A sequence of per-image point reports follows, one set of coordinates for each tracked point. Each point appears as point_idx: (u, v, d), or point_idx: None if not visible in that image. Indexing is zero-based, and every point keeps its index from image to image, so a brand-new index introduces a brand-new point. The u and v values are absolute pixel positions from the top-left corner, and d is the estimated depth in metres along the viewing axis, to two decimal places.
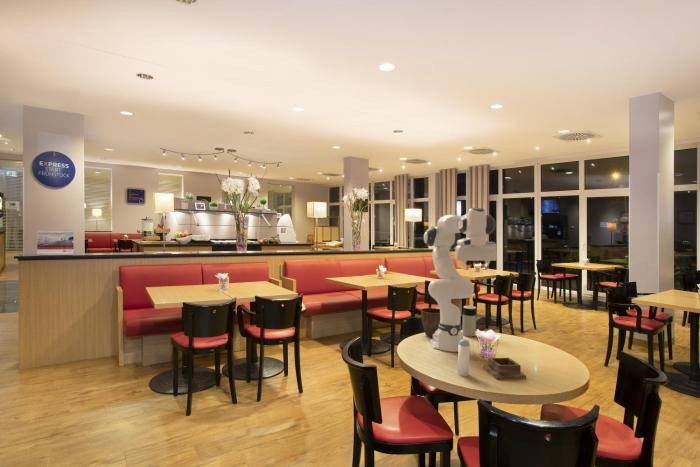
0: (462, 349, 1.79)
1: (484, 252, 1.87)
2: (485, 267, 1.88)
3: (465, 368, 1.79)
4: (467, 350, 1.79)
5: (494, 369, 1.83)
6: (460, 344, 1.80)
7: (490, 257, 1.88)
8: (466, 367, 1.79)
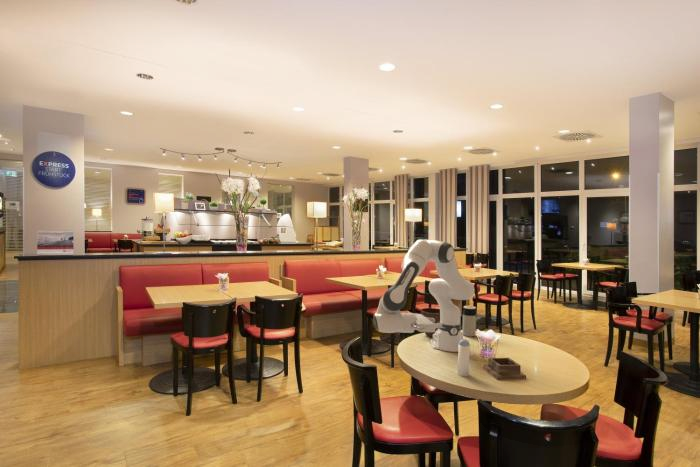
0: (462, 349, 1.79)
1: None
2: None
3: (465, 368, 1.79)
4: (467, 350, 1.79)
5: (494, 369, 1.83)
6: (460, 344, 1.80)
7: None
8: (466, 367, 1.79)
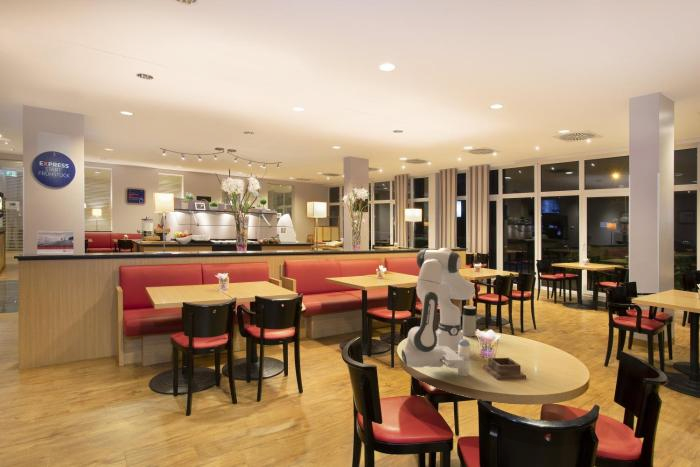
0: (462, 349, 1.79)
1: None
2: None
3: (465, 368, 1.79)
4: (467, 350, 1.79)
5: (494, 369, 1.83)
6: (460, 344, 1.80)
7: None
8: (466, 367, 1.79)
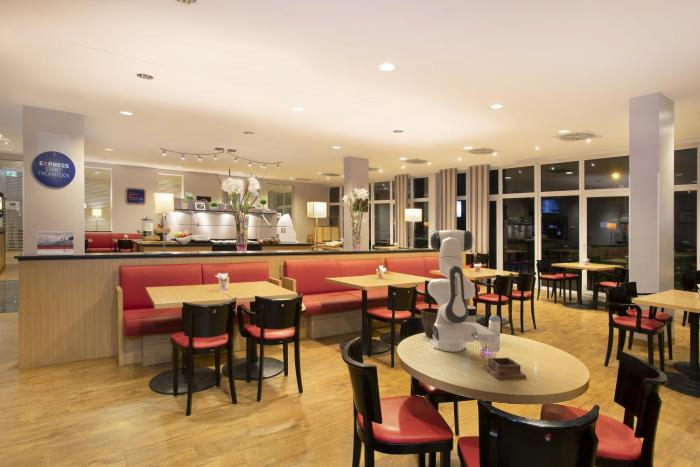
0: (493, 324, 1.81)
1: None
2: None
3: (496, 343, 1.81)
4: (498, 325, 1.81)
5: (494, 369, 1.83)
6: (491, 319, 1.82)
7: None
8: (497, 342, 1.81)
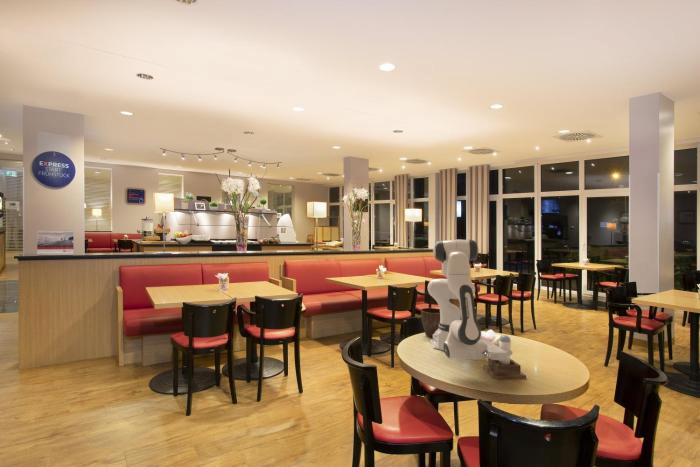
0: (503, 345, 1.82)
1: None
2: None
3: (506, 364, 1.82)
4: (508, 346, 1.81)
5: (494, 369, 1.83)
6: (501, 340, 1.82)
7: None
8: (507, 363, 1.82)
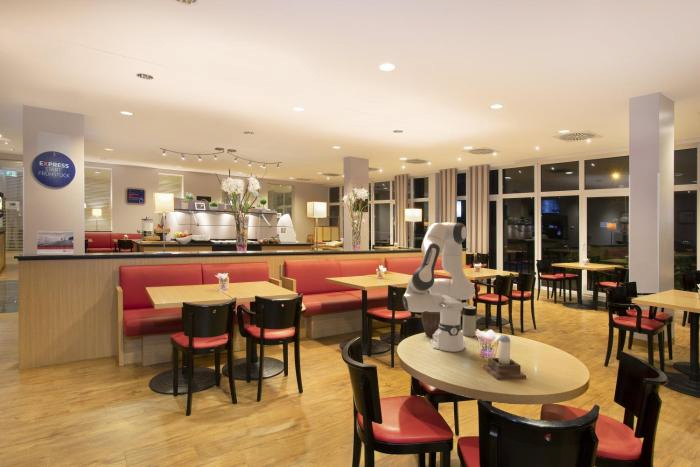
0: (503, 345, 1.82)
1: None
2: None
3: (506, 364, 1.82)
4: (508, 346, 1.82)
5: (494, 369, 1.83)
6: (501, 340, 1.82)
7: None
8: (507, 363, 1.82)
